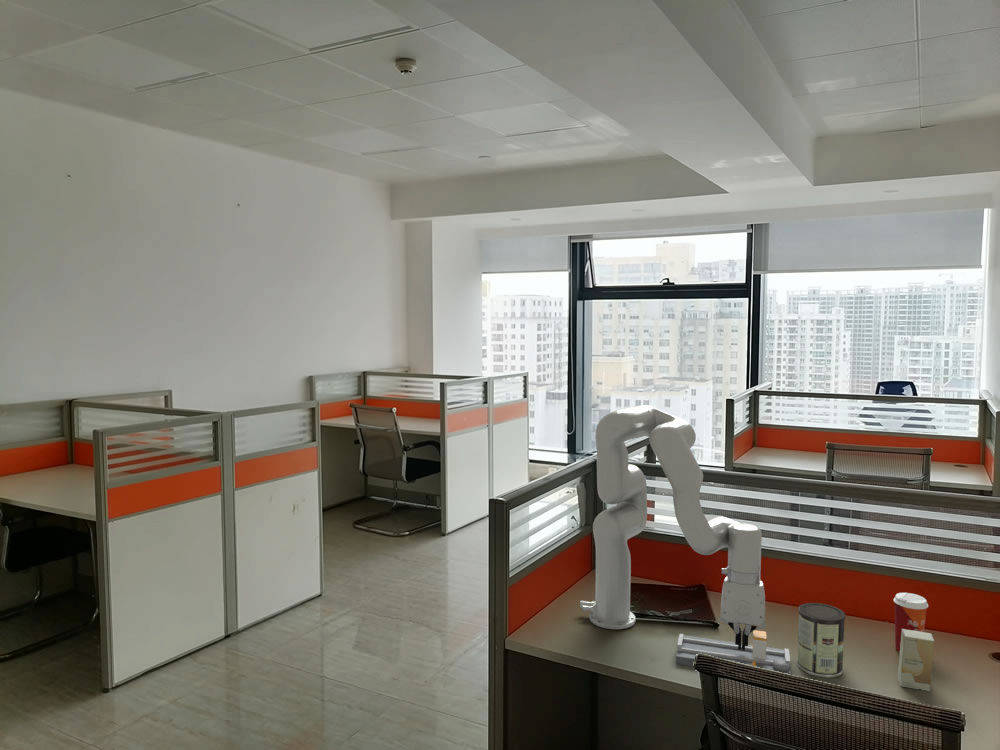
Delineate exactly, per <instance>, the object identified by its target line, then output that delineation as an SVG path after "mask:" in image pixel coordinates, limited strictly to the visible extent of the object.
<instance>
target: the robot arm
mask: <svg viewBox="0 0 1000 750" xmlns="http://www.w3.org/2000/svg"><path fill="white" fill-rule="evenodd" d="M643 437H647V438H648V439H649V444H650V447H651V449H652V451H653V452H654V455H655V458H656V459H657V461H658V463H659V465H660V467H661V468H662V471H663V473H664V475H665V477H666V479H667V480H668V482H669V485H670V486H671V488H672V501H673V509H674V514H675V518H676V521H677V523H678V526H679V528H680V530H681V532H682V535H683V536H684V538H685V540H686V542H687V543H688V545H689V546H690V548H691V549H692V550H693V551H694V552H696V553H698V554H699V555H703V556H710V555H713V554H714V553H716V552H718V551H719V550H721V549H725V548H728V549H727V551H728V552H727V566H726V567H725V568H723V567H722V568H721V575H725V576H726V577H725V578H724V580H723V584H722V588H721V589H722V590H721V600H720V615H719V619H718V620H719V622H720V623H721V624H724V625H728V626H729V628H731V630H732V631H733V632H734V634H735V635H734V636H735V640H734V642H735V645H738V650H741V643H742V650H743V651H745V646H748V644H749V636H750V634H751V633H753V631H754V630H756V629H765V628H766V627H767V626H766V625H767V624H766V594H765V586H764V583H763V581H762V580H761V570H762V569H761V567H762V566H761V564H762V561H761V560H762V535H763V534H762V530H761V529H760V527H759V526H757V525H754V524H752V523H746V522H745V523H744V522H739V521H736V520H733V519H731V518H729V517H726V516H722V515H716V516H712V517H711V518H708V519H707V518H706V515H705V513H704V511H703V508H702V506H701V501H700V498H701V497H700V492H701V487H702V484H703V480H704V474H703V471H702V469H701V467H700V465H699V462H698V461H697V459H696V458H695V455H694V454H693V452H692V450H691V449H692V447H694V444H695V443H696V438H697V436H696V432H695V430H694V427H693V426H692V425H691V424H690V423H689V422H688V421H686V420H684V419H683V418H680V417H678V416H676V415H673V414H671V413H668V412H667V411H663V410H662V409H659V408H656V407H654V406H651V405H648V404H639V405H635V406H630V407H629V406H628V407H624V408H620V409H617V410H613V411H611V412H609V413H607V414H605V416H603V417H602V418H601V419H600V420H599V421H598V423H597V425H596V429H595V447H596V486H597V494H598V495H597V496H598V497H599V499H600V500H601V502H603V503H604V504H607V505H614V506H611V507H610V508H609V507H608V508H606V509H605V510H603V511H601V512H600V513H598V515H596V516H595V518H594V521H593V523H592V532H593V538H594V545H595V597H594V599H595V600H592V601H588V600H580V602H579V607H580V608H582V611H583V612H590V613H589V621H590V622H591V623H592V624H593V625H595V626H597V627H599V628H602V629H608V630H625V629H629V628H631V627H633V626H634V625H635V624H636V615H635V614H634V613H633V612H632V611H631V579H632V576H631V573H632V571H631V570H632V569H631V567H632V566H631V565H632V564H631V563H632V559H631V558H632V557H631V551H630V549H629V546H628V540H630V539H631V538H633V537H635V536H638V535H639V534H640V533H642V532H643V530H644V529H645V528H646V525H647V521H648V493H647V492H648V487H647V484H648V483H647V481H646V480H647V479H646V476H645V474H644V472H643V471H642V469H641V468H639V467H638V466H637V465H634V464H631V463H629V452H628V448H627V446H626V444H625V443H626V442H627V441H631V440H634V439H638V438H643ZM740 625H745V626H744V628H743V630H742V628H741V627H740Z"/></svg>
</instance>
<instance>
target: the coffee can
mask: <svg viewBox="0 0 1000 750" xmlns="http://www.w3.org/2000/svg"><path fill="white" fill-rule="evenodd" d="M845 620H846V613H845V612H844V611H843V610H842V609H841V608H838V607H837V606H833V605H830V604H826V603H821V602H819V603H818V602H806V603H803V604H801V605H799V606H798V632H797V636H798V637H797V661H796V664H798V665H797V666H799V667H800V668H799V667H798V668H799V669H800V670H801V669H802V671H803V672H804V671H805V673H807V674H809V675H812V676H815V677H820V678H829V679H830V678H837V677H839V676H841V675H842V674H843V672H844V670H843V668H844V667H843V664H844V661H843V660H844V638H845V635H844V634H845Z"/></svg>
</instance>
